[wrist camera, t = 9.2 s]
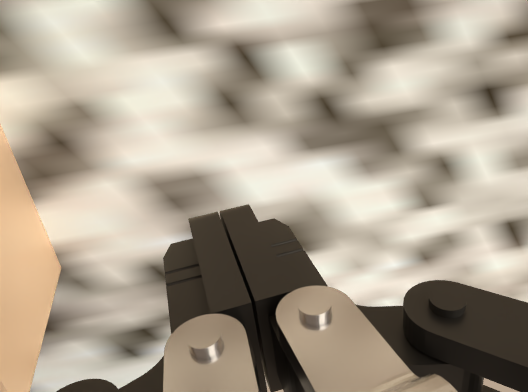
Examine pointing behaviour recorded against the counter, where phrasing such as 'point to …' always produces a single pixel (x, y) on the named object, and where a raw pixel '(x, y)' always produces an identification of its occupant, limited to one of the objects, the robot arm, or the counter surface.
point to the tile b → (22, 277)
